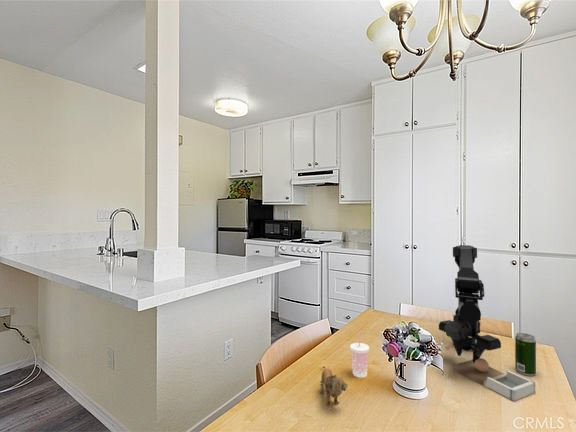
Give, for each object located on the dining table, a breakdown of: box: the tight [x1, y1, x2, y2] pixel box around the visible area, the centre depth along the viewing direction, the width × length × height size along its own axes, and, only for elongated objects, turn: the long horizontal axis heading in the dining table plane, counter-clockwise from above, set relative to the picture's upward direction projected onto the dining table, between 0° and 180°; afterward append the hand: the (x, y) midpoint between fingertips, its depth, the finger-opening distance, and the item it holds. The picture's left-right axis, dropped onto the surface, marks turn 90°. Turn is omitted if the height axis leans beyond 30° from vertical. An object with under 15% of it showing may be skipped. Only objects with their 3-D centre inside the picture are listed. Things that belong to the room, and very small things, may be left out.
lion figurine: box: [319, 367, 349, 408], centre depth 88 cm, size 15×5×9 cm, turn 16°
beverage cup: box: [350, 331, 370, 379], centre depth 101 cm, size 6×6×14 cm
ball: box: [474, 357, 490, 372], centre depth 99 cm, size 4×4×4 cm
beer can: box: [514, 332, 537, 377], centre depth 100 cm, size 5×5×12 cm
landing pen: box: [486, 370, 536, 402], centre depth 91 cm, size 8×10×3 cm
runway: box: [452, 359, 507, 388], centre depth 99 cm, size 12×10×2 cm
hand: (467, 359), depth 103 cm, fingers open, 5 cm apart
